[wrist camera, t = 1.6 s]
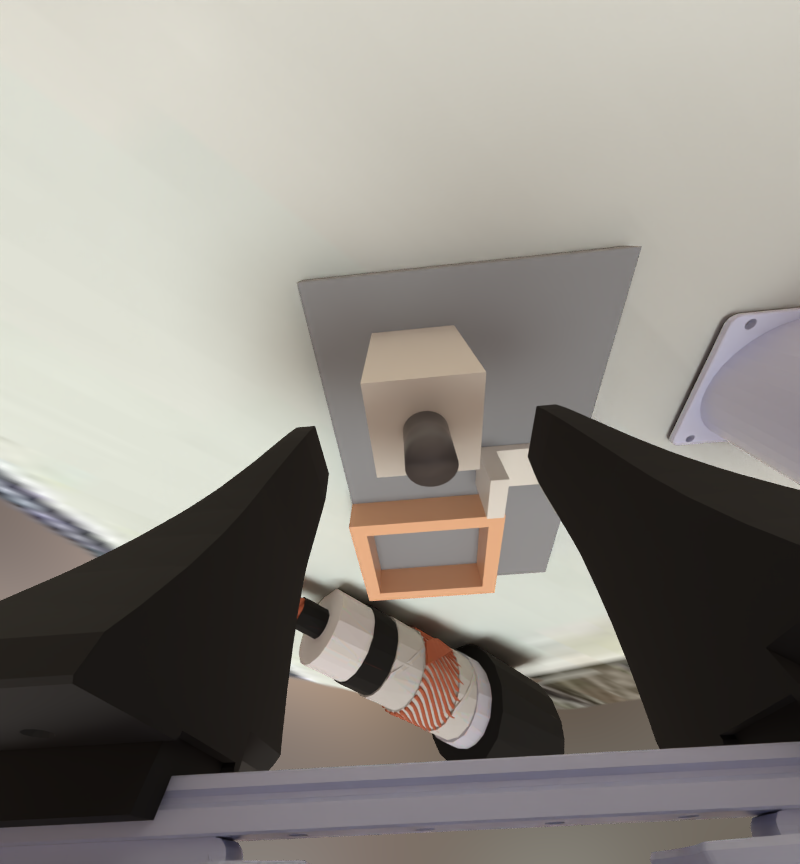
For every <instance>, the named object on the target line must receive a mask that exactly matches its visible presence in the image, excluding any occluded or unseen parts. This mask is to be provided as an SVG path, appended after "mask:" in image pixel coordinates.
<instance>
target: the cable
mask: <svg viewBox="0 0 800 864" xmlns="http://www.w3.org/2000/svg"><path fill="white" fill-rule="evenodd" d="M296 630H298V631H300V632H302V633H304V634H303V637H302V640H301V644H300V650H299V657H300V662H301V663H302V664H304V665H305V666H307V667H310V668H312V669H314V670H316V671H318V672H320V673H322V674H324V675H326V676H329V677H331V678H333V679H334V680H335V681H336V682H338V683H339V684H341V685H343V686H345V687H348V688H350V689H352V690H354V691H356V692H358V693H359V695H360V696H363V697H365V698H367V699H369V700H371V701H373V702H376V703H378V704H380V705H382V707H383V708H386V709H385V711H386V712H389V713H390V714H391V715H394V716H396V717H399V718H400V719H402V720H407V722H409V723H413V724H414V725H415V726H418V727H421V728H422V729H423V730H426V731H428V732H430V733H432V735H433V739H434V741H435V744H436V746H437V748H438V750H439V753H440V754H441V755H442V756H443V757H444V758H445V759H446V760H447V761H453V760H472V759H490V758H508V757H526V756H545V755H563V754H564V735H563V730H562V724H561V720H560V718H559V715H558V713H557V711H556V708H555V706H554V704H553V701H552V699H551V698H550V697H549V696H548V695H547V693H546V692H545V691H544V690H543V689H542V687H541V686H540V685H539V684H537V683H536V682H534V681H533V680H531V679H529V678H528V677H526V676H525V675H523V674H521V673H520V672H518V671H517V670H515V669H513V668H512V667H510V666H508V665H507V664H505V663H504V662H502V661H500V660H499V659H497V658H496V657H494V656H492V655H491V654H489V653H488V652H486V651H484V650H483V649H481V648H480V647H478V646H474V645H465V646H463V647H460V648H458V649H456V650H453V649H452V648H450V647H448V646H447V645H446V644H445V643H443V642H442V641H441V640H440V639H438V638H433V637H431V636H429V635H428V634H426V633H424V632H423V631H421V630H419V629H418V628H416V627H412V626H410V627H409V626H407V625H405V624H404V623H402V622H400V621H399V620H397V619H395V618H394V617H392V616H387V615H385V614H384V613H382V612H380V611H379V610H377V609H375V608H374V607H372V606H369V605H365V604H363V603H361V602H359V601H358V600H356V599H354V598H352V597H351V596H349V595H347V594H346V593H344V592H342V591H340V590H339V589H336V590H334V591H333V592H331V593H330V594H328V595H327V596H326V597H324V598H323V599H322V600H321V602H320V603H319V604H316V603H315V602H313V601H311V600H309V599H307V598H305V597H303V598H300V604H299V610H298V616H297V623H296Z"/></svg>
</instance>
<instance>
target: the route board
mask: <svg viewBox="0 0 800 864" xmlns="http://www.w3.org/2000/svg"><path fill="white" fill-rule="evenodd" d="M640 250H641V247H640V246H622V247H612V248H603V249H593V250H584V251H574V252H565V253H555V254H546V255H537V256H527V257H518V258H508V259H499V260H489V261H480V262H470V263H461V264H451V265H442V266H432V267H423V268H414V269H404V270H395V271H385V272H376V273H366V274H357V275H347V276H338V277H328V278H319V279H309V280H302V281H300V282H298V283H297V286H298V290H299V293H300V297H301V301H302V305H303V309H304V313H305V317H306V321H307V325H308V329H309V333H310V337H311V341H312V345H313V349H314V353H315V357H316V361H317V365H318V369H319V373H320V377H321V381H322V385H323V389H324V393H325V397H326V401H327V405H328V408H329V412H330V416H331V420H332V424H333V428H334V432H335V436H336V440H337V444H338V448H339V452H340V456H341V460H342V464H343V468H344V472H345V476H346V480H347V484H348V488H349V492H350V496H351V500H352V504H360V503H373V502H386V501H398V500H411V499H424V498H436V497H449V496H461V495H474V494H479V493H478V490H477V487H476V484H475V481H476V470H466V471H457V473H456V475H455V476H454V477H453V478H452V479H451V480H450V481H448V482H447V483H445V484H443V485H440V486H435V487H425V486H420V485H418V484H416V483H414V482H412V481H411V480H410V479H409V478H408V476H407V475H405V476H393V477H381V478H377V475H376V469H375V464H374V458H373V452H372V447H371V441H370V435H369V430H368V424H367V418H366V413H365V407H364V401H363V396H362V390H361V384H360V383H361V379H362V374H363V370H364V365H365V361H366V356H367V352H368V348H369V343H370V339H371V334H372V333H379V332H389V331H399V330H410V329H420V328H430V327H440V326H450V325H454V326H455V327H456V329H457V330H458V332H459V333H460V335H461V336H462V337H463V339H464V340H465V342H466V343H467V345H468V346H469V348H470V349H471V350H472V352H473V353H474V355H475V356H476V358H477V359H478V361H479V362H480V364H481V365H482V366H483V368H484V369H485V371H486V384H485V399H484V413H483V427H482V442H481V447H492V446H504V445H516V444H527V443H530V440H531V434H532V429H533V423H534V417H535V412H536V406H542V405H553V404H557V405H560V406H563V407H566V408H568V409H571V410H573V411H575V412H578V413H580V414H582V415H585V416H587V417H589V418H591V416H592V412H593V409H594V406H595V402H596V399H597V395H598V392H599V389H600V385H601V382H602V379H603V375H604V372H605V369H606V365H607V362H608V358H609V355H610V352H611V348H612V345H613V342H614V338H615V335H616V331H617V328H618V325H619V321H620V318H621V315H622V311H623V308H624V304H625V301H626V298H627V294H628V291H629V288H630V284H631V281H632V277H633V274H634V271H635V267H636V264H637V261H638V257H639V254H640ZM505 515H506V517H505V524H504V531H503V537H502V544H501V551H500V558H499V564H498V571H497V575H509V574H523V573H537V572H545V571H546V567H547V564H548V561H549V557H550V554H551V551H552V547H553V544H554V540H555V537H556V534H557V530H558V527H559V524H560V518H559V517H558V515H557V514H556V513H555V511H554V509H553V508H552V506H551V504H550V502H549V501H548V499H547V497H546V496H545V494H544V492H543V491H542V489H541V487H540V485H539V484H533V485H520V486H509V488H508V495H507V502H506V509H505ZM478 538H479V528H469V529H456V530H442V531H429V532H416V533H403V534H389V535H376V536H374V539H375V544H376V548H377V553H378V557H379V562H380V567H381V570H387V569H401V568H415V567H429V566H443V565H457V564H471V563H477V550H478Z"/></svg>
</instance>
